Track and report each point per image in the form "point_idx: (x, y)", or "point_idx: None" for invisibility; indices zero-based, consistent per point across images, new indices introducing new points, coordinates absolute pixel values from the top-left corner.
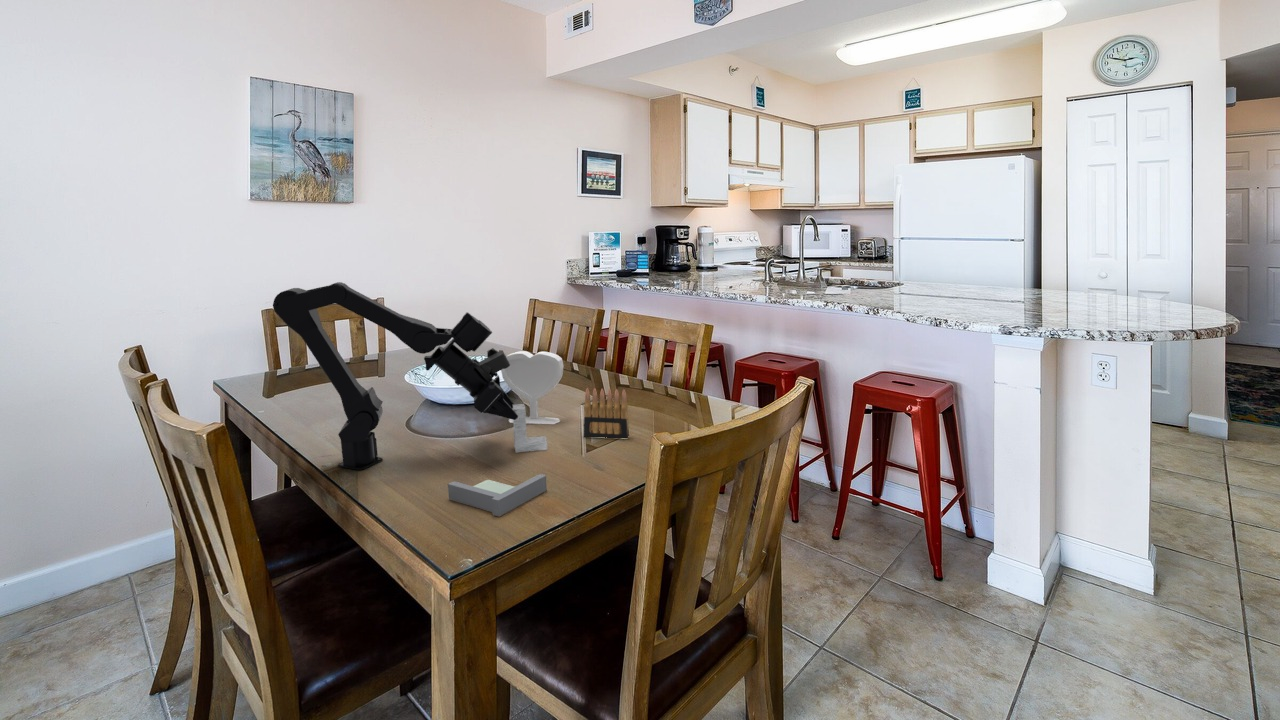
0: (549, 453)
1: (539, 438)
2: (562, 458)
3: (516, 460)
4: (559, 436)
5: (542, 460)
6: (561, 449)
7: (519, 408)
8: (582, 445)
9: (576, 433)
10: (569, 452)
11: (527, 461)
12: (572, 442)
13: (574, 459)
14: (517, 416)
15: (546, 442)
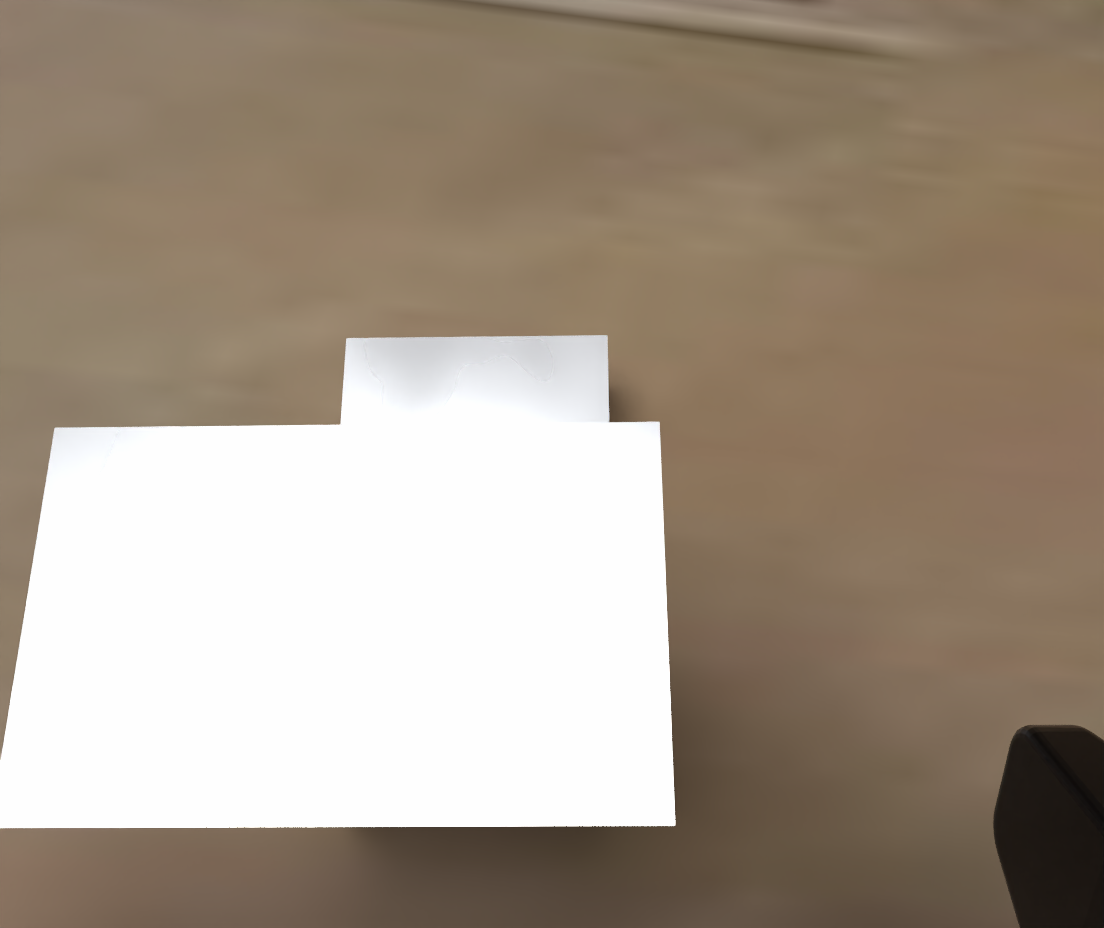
0: (750, 377)
1: (443, 423)
2: (963, 256)
3: (945, 837)
4: (134, 192)
5: (999, 488)
6: (637, 228)
7: (584, 613)
8: (560, 4)
9: (106, 5)
10: (767, 159)
11: (1009, 684)
12: (419, 85)
13: (1017, 140)
14: (1091, 744)
15: (604, 351)
